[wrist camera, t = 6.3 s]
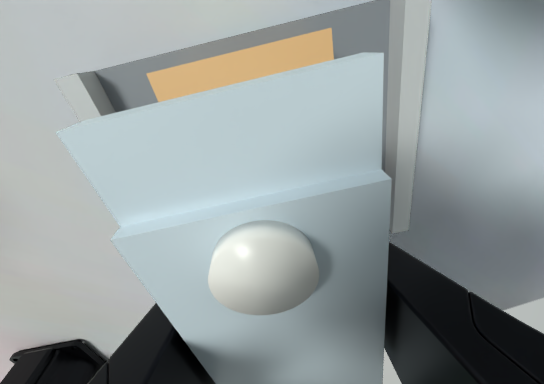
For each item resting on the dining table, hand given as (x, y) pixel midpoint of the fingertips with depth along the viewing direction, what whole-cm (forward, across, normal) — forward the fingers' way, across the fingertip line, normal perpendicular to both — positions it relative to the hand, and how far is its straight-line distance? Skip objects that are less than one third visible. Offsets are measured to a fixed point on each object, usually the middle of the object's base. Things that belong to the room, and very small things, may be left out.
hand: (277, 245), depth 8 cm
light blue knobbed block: (+2, 0, 0) cm, 2 cm away
